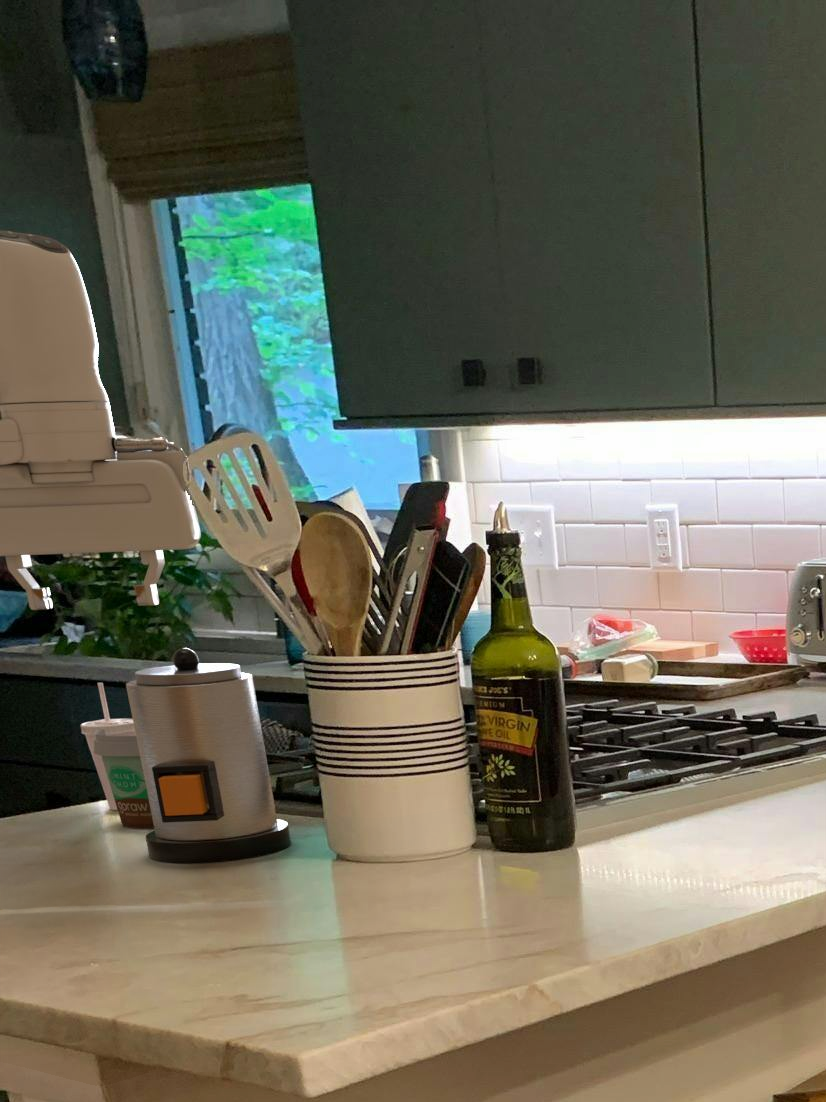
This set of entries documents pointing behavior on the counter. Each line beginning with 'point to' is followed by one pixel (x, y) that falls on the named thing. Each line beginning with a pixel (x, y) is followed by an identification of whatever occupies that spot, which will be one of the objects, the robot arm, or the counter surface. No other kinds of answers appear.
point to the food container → (125, 778)
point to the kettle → (205, 760)
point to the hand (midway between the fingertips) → (95, 607)
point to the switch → (183, 794)
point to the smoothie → (111, 729)
